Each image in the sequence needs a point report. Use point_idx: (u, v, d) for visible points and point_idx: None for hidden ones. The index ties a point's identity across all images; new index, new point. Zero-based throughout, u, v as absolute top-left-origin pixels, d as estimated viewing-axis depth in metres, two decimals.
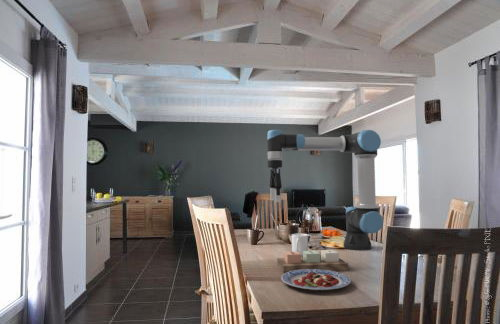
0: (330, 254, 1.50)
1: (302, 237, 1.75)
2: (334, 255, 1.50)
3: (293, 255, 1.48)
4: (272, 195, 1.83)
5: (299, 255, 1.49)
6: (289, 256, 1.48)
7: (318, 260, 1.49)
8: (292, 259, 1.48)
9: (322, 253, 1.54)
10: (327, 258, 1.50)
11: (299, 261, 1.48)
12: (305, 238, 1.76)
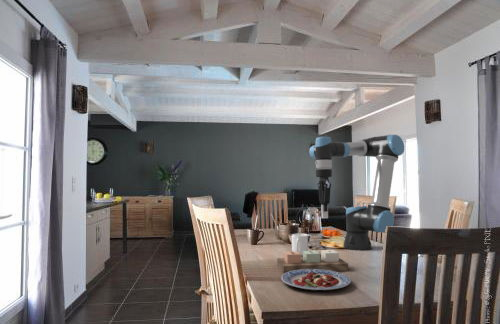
0: (330, 254, 1.50)
1: (302, 237, 1.75)
2: (334, 255, 1.50)
3: (293, 255, 1.48)
4: None
5: (299, 255, 1.49)
6: (289, 256, 1.48)
7: (318, 260, 1.49)
8: (292, 259, 1.48)
9: (322, 253, 1.54)
10: (327, 258, 1.50)
11: (299, 261, 1.48)
12: (305, 238, 1.76)
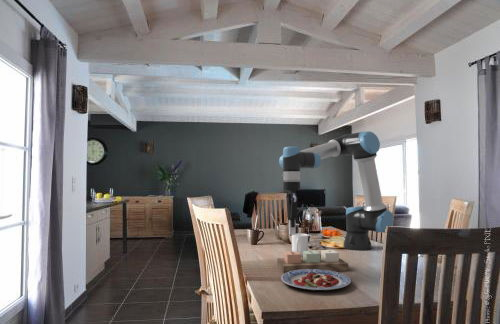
0: (330, 254, 1.50)
1: (302, 237, 1.75)
2: (334, 255, 1.50)
3: (293, 255, 1.48)
4: None
5: (299, 255, 1.49)
6: (289, 256, 1.48)
7: (318, 260, 1.49)
8: (292, 259, 1.48)
9: (322, 253, 1.54)
10: (327, 258, 1.50)
11: (299, 261, 1.48)
12: (305, 238, 1.76)
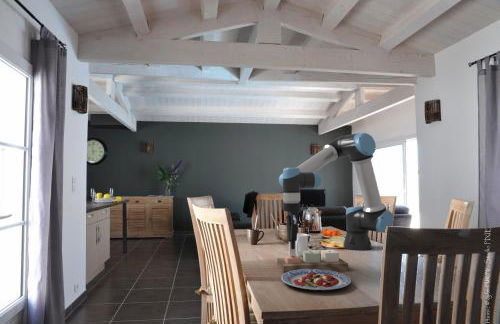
0: (330, 254, 1.50)
1: (302, 237, 1.75)
2: (334, 255, 1.50)
3: (293, 259, 1.48)
4: None
5: (299, 259, 1.48)
6: (289, 260, 1.48)
7: (318, 260, 1.49)
8: None
9: (322, 253, 1.54)
10: (327, 258, 1.50)
11: None
12: (305, 238, 1.76)
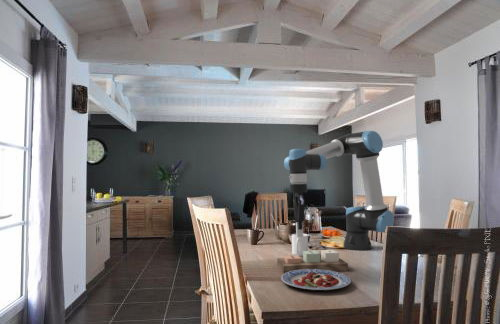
0: (330, 254, 1.50)
1: (302, 237, 1.75)
2: (334, 255, 1.50)
3: (293, 259, 1.48)
4: None
5: (299, 259, 1.48)
6: (289, 260, 1.48)
7: (318, 260, 1.49)
8: None
9: (322, 253, 1.54)
10: (327, 258, 1.50)
11: None
12: (305, 238, 1.76)
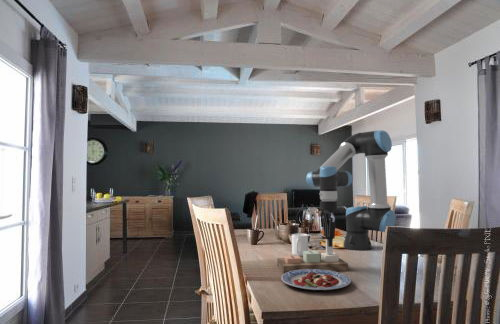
0: (330, 257, 1.50)
1: (302, 237, 1.75)
2: (334, 258, 1.50)
3: (293, 259, 1.48)
4: None
5: (299, 259, 1.48)
6: (289, 260, 1.48)
7: (318, 260, 1.49)
8: None
9: (322, 256, 1.54)
10: (327, 260, 1.50)
11: None
12: (305, 238, 1.76)
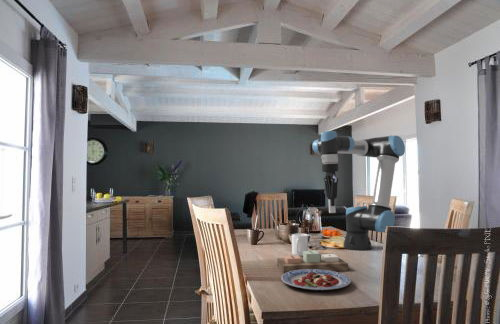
0: (330, 258, 1.50)
1: (302, 237, 1.75)
2: (334, 259, 1.50)
3: (293, 259, 1.48)
4: None
5: (299, 259, 1.48)
6: (289, 260, 1.48)
7: (318, 260, 1.49)
8: None
9: (322, 257, 1.54)
10: None
11: None
12: (305, 238, 1.76)
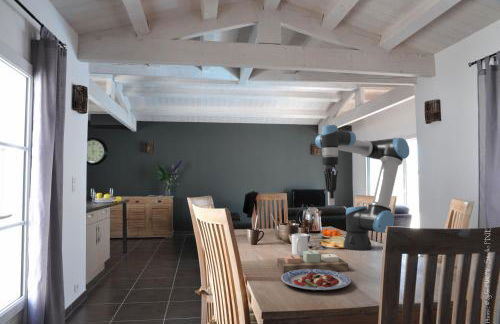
0: (330, 258, 1.50)
1: (302, 237, 1.75)
2: (334, 259, 1.50)
3: (293, 259, 1.48)
4: None
5: (299, 259, 1.48)
6: (289, 260, 1.48)
7: (318, 260, 1.49)
8: None
9: (322, 257, 1.54)
10: None
11: None
12: (305, 238, 1.76)
